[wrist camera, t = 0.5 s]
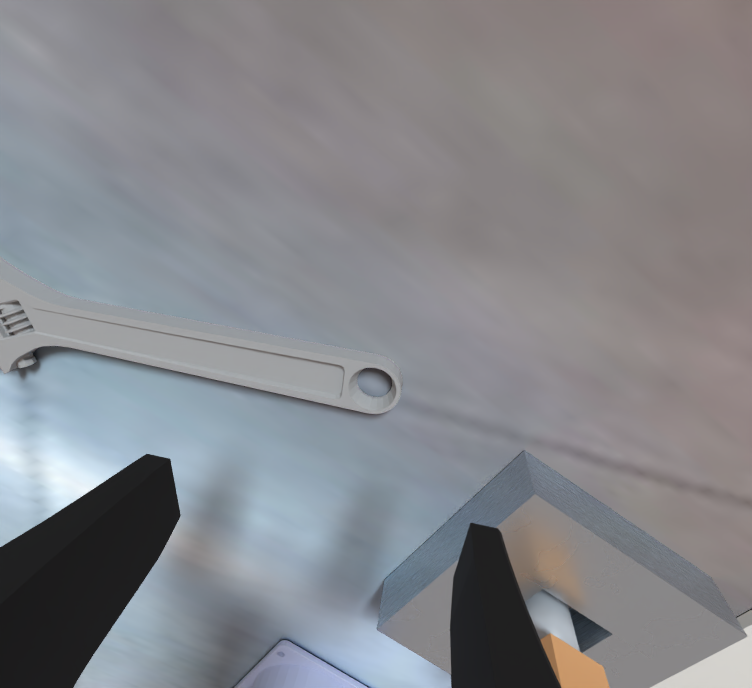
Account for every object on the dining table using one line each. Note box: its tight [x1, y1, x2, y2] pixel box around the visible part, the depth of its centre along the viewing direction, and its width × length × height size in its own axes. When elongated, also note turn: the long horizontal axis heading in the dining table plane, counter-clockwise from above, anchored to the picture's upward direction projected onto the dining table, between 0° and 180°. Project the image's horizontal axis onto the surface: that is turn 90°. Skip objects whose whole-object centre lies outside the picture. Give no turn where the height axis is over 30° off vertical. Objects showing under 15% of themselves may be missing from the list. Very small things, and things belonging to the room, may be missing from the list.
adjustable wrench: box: [0, 257, 403, 414], centre depth 22 cm, size 25×6×2 cm, turn 77°
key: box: [525, 589, 610, 688], centre depth 20 cm, size 3×3×8 cm
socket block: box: [377, 451, 748, 688], centre depth 23 cm, size 12×12×3 cm
